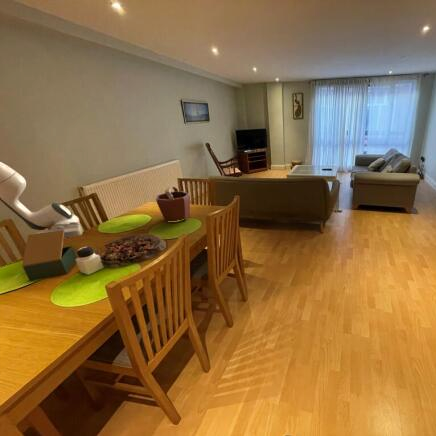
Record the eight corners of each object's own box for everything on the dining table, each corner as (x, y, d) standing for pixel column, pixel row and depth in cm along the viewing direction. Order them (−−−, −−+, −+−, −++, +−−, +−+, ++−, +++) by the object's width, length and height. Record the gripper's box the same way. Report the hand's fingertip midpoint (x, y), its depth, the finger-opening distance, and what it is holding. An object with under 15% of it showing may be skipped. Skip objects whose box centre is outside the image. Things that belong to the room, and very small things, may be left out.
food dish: (89, 277, 115) (83, 264, 112) (99, 249, 141) (94, 238, 138) (169, 256, 131) (165, 243, 128) (164, 234, 157) (161, 223, 154)
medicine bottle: (104, 267, 121) (96, 246, 117) (88, 275, 115) (79, 253, 111) (95, 264, 124) (88, 244, 119) (79, 271, 118) (71, 250, 113)
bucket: (183, 225, 170) (177, 191, 161) (153, 225, 171) (144, 191, 161) (197, 213, 193) (192, 183, 183) (170, 213, 193) (163, 182, 184)
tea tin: (44, 264, 124) (38, 251, 121) (77, 258, 129) (72, 245, 126) (29, 281, 111) (22, 267, 108) (66, 273, 116) (61, 260, 113)
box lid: (29, 235, 116) (28, 234, 115) (64, 230, 121) (63, 229, 121) (22, 266, 108) (21, 265, 108) (61, 259, 114) (60, 258, 113)
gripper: (35, 228, 128) (21, 238, 116) (82, 221, 136) (74, 231, 124) (39, 238, 130) (26, 249, 119) (86, 231, 138) (78, 241, 127)
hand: (51, 240), depth 122 cm, fingers closed
